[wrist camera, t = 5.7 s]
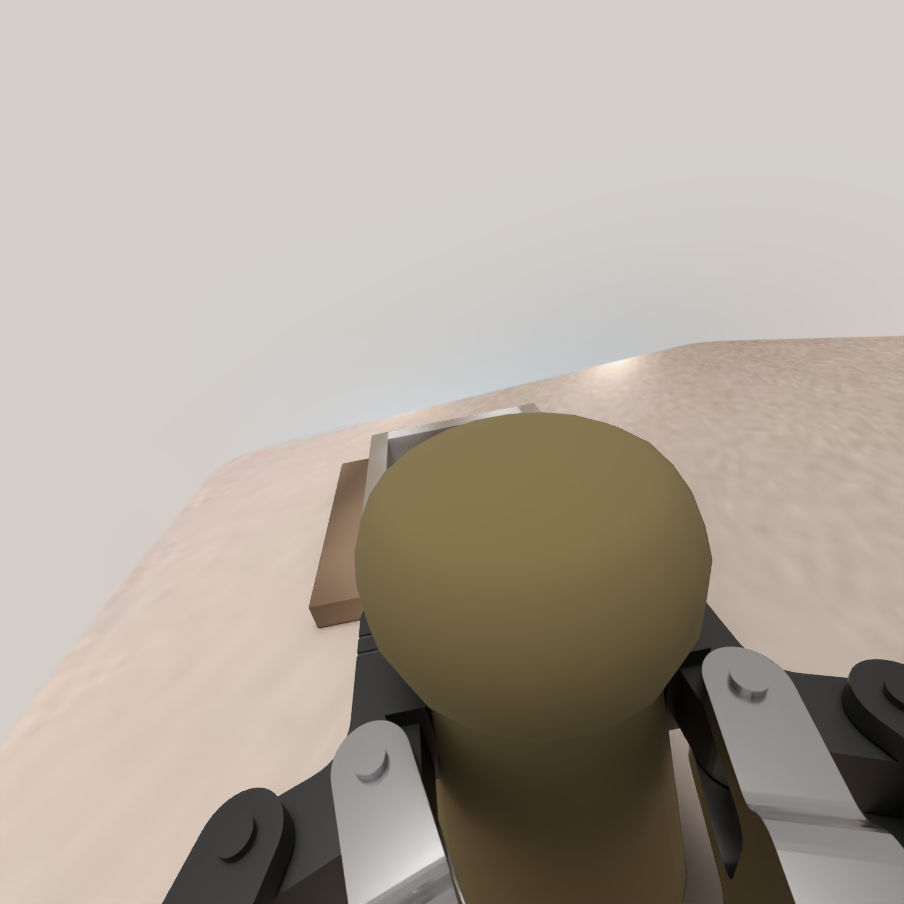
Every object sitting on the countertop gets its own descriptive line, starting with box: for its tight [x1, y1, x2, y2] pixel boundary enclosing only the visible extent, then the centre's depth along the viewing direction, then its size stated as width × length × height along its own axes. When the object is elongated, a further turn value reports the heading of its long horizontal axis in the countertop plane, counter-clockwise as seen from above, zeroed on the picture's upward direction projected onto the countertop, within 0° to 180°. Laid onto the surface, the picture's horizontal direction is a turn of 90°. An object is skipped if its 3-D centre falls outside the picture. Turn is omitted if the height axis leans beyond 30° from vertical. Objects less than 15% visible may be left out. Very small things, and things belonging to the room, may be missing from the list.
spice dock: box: [309, 403, 540, 628], centre depth 23 cm, size 15×12×3 cm
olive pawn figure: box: [354, 412, 712, 904], centre depth 9 cm, size 6×6×11 cm
